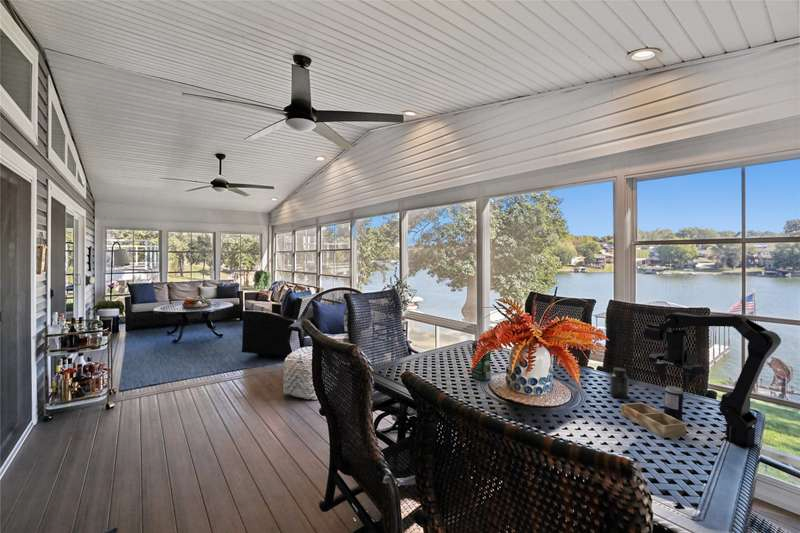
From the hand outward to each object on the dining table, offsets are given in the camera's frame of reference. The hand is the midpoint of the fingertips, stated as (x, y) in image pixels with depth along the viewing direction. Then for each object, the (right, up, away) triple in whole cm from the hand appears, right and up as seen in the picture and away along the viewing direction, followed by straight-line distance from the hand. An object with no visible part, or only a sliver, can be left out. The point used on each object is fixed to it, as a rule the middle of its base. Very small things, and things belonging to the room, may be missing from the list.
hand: (674, 385), depth 140 cm
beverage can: (-1, -13, 0) cm, 13 cm away
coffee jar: (-65, -10, +43) cm, 79 cm away
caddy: (-12, -13, -4) cm, 18 cm away
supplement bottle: (-8, -12, +22) cm, 26 cm away
